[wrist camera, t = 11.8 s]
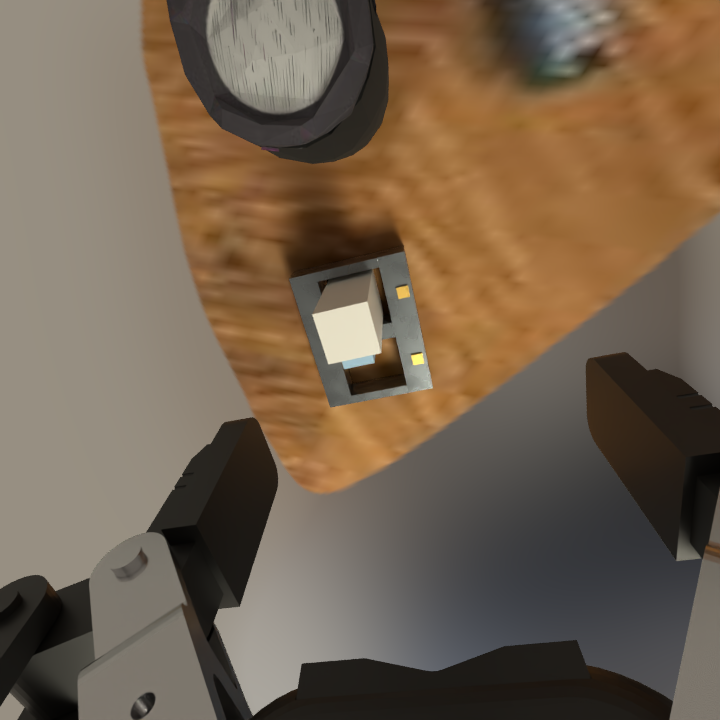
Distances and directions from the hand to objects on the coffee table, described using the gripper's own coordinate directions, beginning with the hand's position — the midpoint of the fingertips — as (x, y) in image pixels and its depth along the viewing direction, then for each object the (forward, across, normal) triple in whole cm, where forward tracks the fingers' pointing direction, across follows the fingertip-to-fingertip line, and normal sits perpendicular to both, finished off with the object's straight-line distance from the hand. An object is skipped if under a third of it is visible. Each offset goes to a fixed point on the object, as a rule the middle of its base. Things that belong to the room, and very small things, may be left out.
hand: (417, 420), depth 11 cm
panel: (+30, +5, +9) cm, 31 cm away
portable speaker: (+30, +3, -10) cm, 32 cm away
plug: (+30, +5, +5) cm, 31 cm away
